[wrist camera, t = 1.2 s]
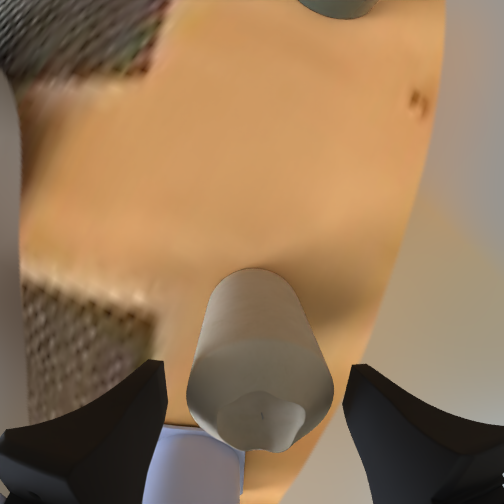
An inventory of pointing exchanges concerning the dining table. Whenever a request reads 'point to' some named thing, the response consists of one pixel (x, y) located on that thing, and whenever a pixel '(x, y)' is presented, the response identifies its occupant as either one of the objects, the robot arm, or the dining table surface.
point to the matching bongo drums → (340, 7)
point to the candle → (258, 366)
